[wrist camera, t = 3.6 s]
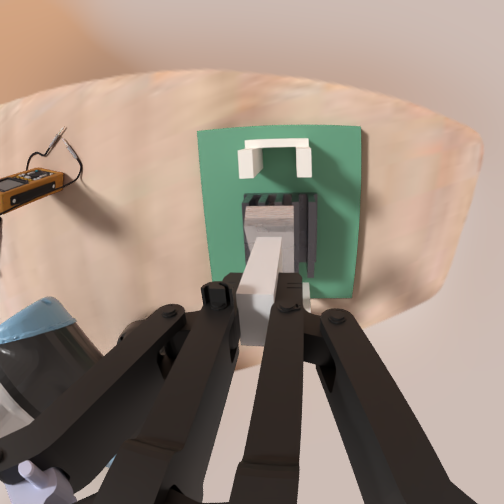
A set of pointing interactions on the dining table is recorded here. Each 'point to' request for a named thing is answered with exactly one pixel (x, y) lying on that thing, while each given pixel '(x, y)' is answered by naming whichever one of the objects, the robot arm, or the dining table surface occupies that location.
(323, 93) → the dining table surface
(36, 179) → the multimeter
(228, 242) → the circuit board
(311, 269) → the heat sink
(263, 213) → the clamp bar
